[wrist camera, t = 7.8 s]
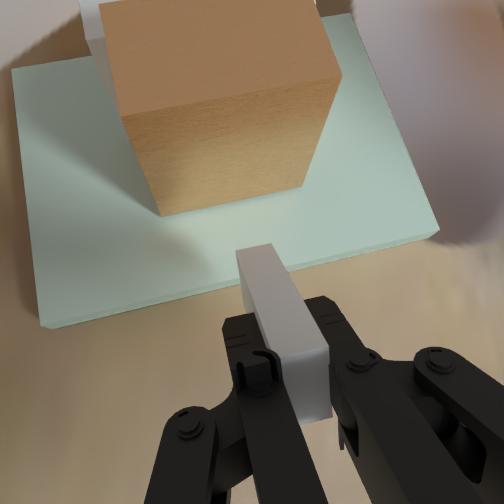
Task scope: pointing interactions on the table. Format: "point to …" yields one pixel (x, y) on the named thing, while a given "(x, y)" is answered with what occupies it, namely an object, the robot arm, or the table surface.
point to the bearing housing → (202, 220)
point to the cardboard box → (220, 94)
